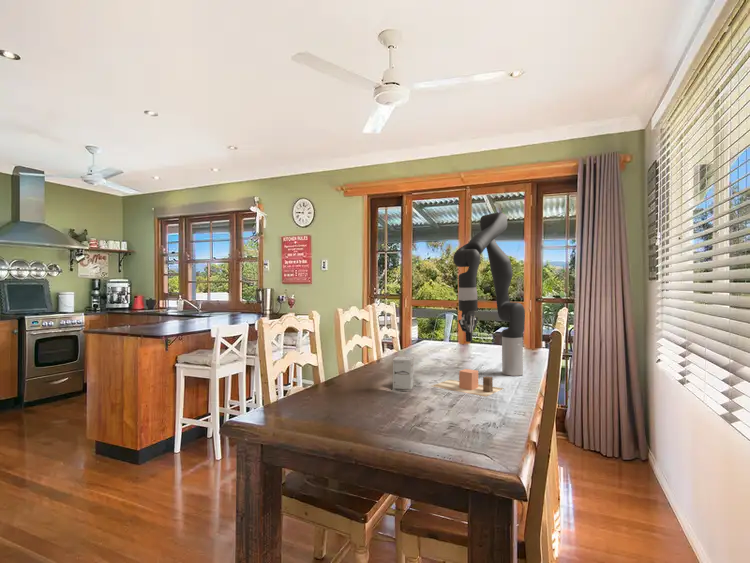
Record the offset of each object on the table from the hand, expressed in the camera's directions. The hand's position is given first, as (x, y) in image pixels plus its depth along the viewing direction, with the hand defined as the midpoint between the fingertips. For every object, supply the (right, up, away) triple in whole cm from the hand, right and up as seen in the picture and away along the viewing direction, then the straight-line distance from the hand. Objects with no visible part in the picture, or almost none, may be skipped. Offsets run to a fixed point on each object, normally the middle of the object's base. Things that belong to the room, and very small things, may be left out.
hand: (469, 341), depth 167 cm
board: (-2, -19, -4) cm, 19 cm away
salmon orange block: (-1, -18, -5) cm, 18 cm away
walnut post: (+5, -17, -10) cm, 21 cm away
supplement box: (-27, -19, -2) cm, 33 cm away
